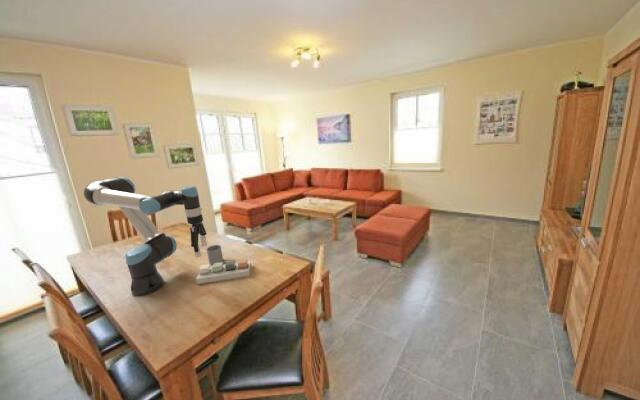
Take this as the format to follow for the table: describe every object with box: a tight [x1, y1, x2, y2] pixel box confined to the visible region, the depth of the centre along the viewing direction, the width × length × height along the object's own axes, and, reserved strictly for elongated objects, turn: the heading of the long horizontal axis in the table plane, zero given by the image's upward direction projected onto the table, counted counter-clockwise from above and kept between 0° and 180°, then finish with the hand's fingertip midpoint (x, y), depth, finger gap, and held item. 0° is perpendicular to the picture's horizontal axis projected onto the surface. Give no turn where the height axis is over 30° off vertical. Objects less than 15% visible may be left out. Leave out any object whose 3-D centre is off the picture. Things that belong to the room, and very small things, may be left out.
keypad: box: [195, 260, 252, 285], centre depth 145 cm, size 28×12×4 cm, turn 100°
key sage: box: [212, 261, 224, 273], centre depth 143 cm, size 5×5×4 cm
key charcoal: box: [225, 260, 237, 271], centre depth 144 cm, size 5×5×4 cm
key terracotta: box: [237, 258, 249, 269], centre depth 146 cm, size 5×5×4 cm
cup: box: [206, 244, 224, 266], centre depth 160 cm, size 8×8×10 cm
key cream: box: [198, 263, 212, 275], centre depth 142 cm, size 5×5×4 cm
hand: (201, 251), depth 140 cm, fingers open, 13 cm apart
